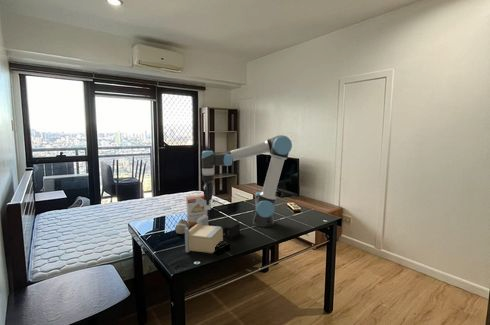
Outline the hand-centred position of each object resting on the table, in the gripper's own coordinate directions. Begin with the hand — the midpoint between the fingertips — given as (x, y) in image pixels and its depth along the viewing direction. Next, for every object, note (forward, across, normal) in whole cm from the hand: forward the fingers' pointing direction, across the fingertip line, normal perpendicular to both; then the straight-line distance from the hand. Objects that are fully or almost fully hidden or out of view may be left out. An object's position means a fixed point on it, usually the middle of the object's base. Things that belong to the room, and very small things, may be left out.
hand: (208, 209), depth 170 cm
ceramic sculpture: (+16, +4, -17) cm, 24 cm away
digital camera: (+15, +3, +17) cm, 23 cm away
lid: (+7, +21, +7) cm, 24 cm away
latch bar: (+3, +11, 0) cm, 12 cm away
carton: (+15, +18, +7) cm, 24 cm away
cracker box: (+15, -10, -13) cm, 23 cm away
